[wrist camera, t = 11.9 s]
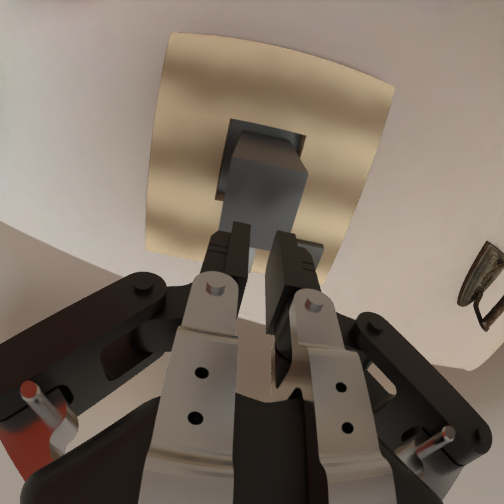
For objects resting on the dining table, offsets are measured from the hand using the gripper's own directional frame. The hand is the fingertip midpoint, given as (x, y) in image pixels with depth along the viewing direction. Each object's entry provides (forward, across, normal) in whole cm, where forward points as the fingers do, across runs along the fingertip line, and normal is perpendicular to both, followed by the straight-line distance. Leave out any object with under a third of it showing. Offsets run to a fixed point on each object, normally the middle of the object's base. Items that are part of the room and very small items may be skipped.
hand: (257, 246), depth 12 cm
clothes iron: (+15, -35, +6) cm, 38 cm away
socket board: (+15, 0, 0) cm, 15 cm away
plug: (+14, 0, +2) cm, 14 cm away
